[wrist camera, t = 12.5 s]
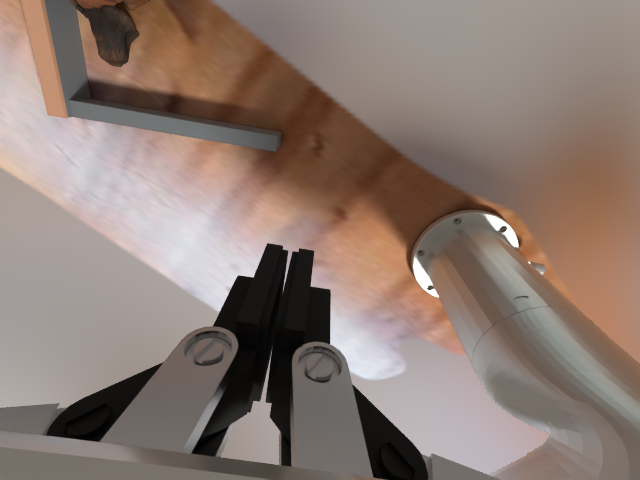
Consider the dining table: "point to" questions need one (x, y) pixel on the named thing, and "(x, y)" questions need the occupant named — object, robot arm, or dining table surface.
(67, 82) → the bay
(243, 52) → the dining table surface
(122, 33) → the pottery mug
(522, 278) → the robot arm
